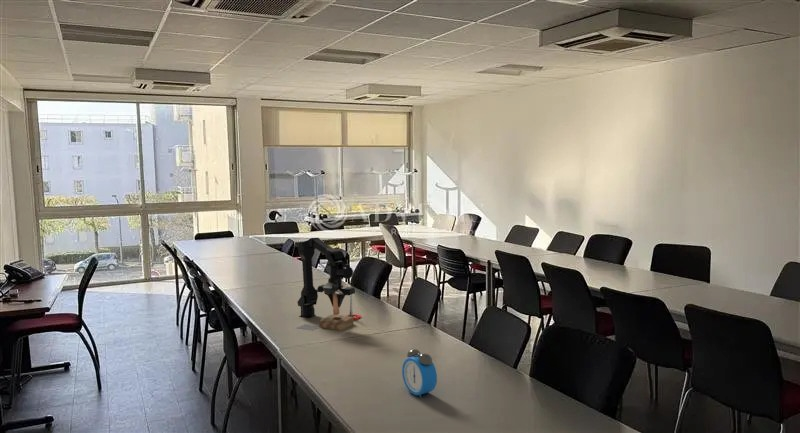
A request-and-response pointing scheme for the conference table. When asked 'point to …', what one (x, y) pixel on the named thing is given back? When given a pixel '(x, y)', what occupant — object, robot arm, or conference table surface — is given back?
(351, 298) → the tow hook
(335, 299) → the peg
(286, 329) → the conference table surface
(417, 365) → the alarm clock
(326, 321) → the socket block
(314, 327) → the mat
